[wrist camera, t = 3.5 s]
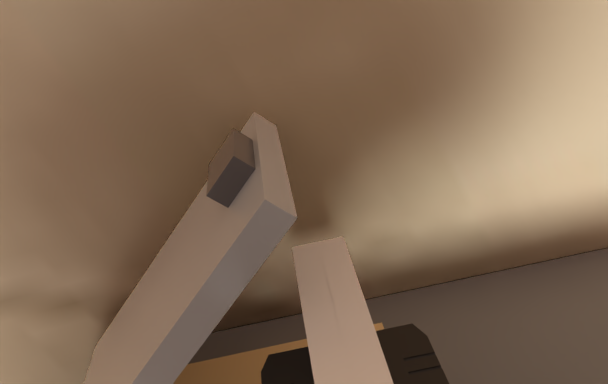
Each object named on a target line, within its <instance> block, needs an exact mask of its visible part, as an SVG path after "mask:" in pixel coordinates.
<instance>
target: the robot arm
mask: <svg viewBox="0 0 608 384" xmlns="http://www.w3.org/2000/svg"><path fill="white" fill-rule="evenodd" d="M291 248H292V254H293V260H294V265H295V271H296V277H297V283H298V289H299V295H300V301H301V307H302V313H303V319H304V325H305V331H306V336H307V342H308V347H303V348H298V349H294V350H289V351H284V352H279V353H275V354H270V355H268V357H267V359H266V362H265V364H264V366H263V368H262V370H261V384H449V382H448V380H447V378H446V375H445V373H444V371H443V369H442V368H441V365H440V362H439V360H438V358H437V356H436V355H435V352H434V349H433V347H432V345H431V343H430V341H429V339H428V336H427V335H426V334H425V333H423V332H422V331H421V330H420V329H418V328H417V327H416V326H415V325H414V324H412V323H411V324H407V325H402V326H397V327H392V328H388V329H383V330H378V331H375V328H374V325H373V322H372V319H371V316H370V313H369V310H368V307H367V304H366V301H365V298H364V295H363V292H362V289H361V286H360V284H359V281H358V278H357V275H356V272H355V269H354V266H353V263H352V260H351V257H350V254H349V251H348V248H347V245H346V242H345V239H344V237H343V236H341V237H336V238H332V239H327V240H322V241H317V242H312V243H307V244H302V245H297V246H293V247H291Z"/></svg>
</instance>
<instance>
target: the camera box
mask: <svg viewBox="0 0 608 384" xmlns="http://www.w3.org/2000/svg"><path fill="white" fill-rule="evenodd" d="M365 301H366V304H367V307H368V310H369V313H370V316H371V319H372V322H373V325H374V328H375V331H378V330H383V329H388V328H392V327H397V326H402V325H407V324H411V323H412V324H414V325H415V326H416V327H417V328H418V329H420V330H421V331H422V332H423V333H425V334H426V335H427V336H428V339H429V341H430V343H431V345H432V347H433V349H434V352H435V355H436V356H437V358H438V360H439V362H440V365H441V368H442V369H443V371H444V373H445V375H446V378H447V380H448V382H449V384H608V248H606V249H601V250H596V251H592V252H587V253H582V254H578V255H573V256H568V257H564V258H559V259H554V260H550V261H545V262H540V263H536V264H531V265H526V266H522V267H517V268H512V269H508V270H503V271H498V272H494V273H489V274H484V275H480V276H475V277H470V278H466V279H461V280H456V281H452V282H447V283H442V284H438V285H433V286H428V287H424V288H419V289H414V290H410V291H405V292H400V293H396V294H391V295H386V296H382V297H377V298H372V299H368V300H365ZM303 347H308V342H307V336H306V331H305V325H304V319H303V313H302V314H298V315H293V316H288V317H284V318H279V319H274V320H270V321H265V322H260V323H256V324H251V325H246V326H242V327H237V328H232V329H228V330H223V331H218V332H214V333H211V334H210V335H209V336H208V338H207V339H206V340H205V342H204V343H203V344H202V346H201V347H200V348H199V350H198V351H197V352H196V354H195V355H194V356H193V358H192V359H191V360H190V362H189V363H188V364H187V366H186V367H185V368H184V370H183V371H182V372H181V374H180V375H179V376H178V378H177V379H176V380H175V382H174V383H173V384H261V370H262V368H263V366H264V364H265V362H266V359H267V357H268V355H270V354H275V353H279V352H284V351H289V350H294V349H298V348H303Z"/></svg>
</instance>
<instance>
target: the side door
mask: <svg viewBox="0 0 608 384" xmlns="http://www.w3.org/2000/svg"><path fill="white" fill-rule="evenodd" d="M296 219H297V213H296V209H295V205H294V200H293V196H292V192H291V187H290V183H289V178H288V174H287V170H286V165H285V161H284V157H283V152H282V148H281V144H280V139H279V135H278V130H277V126H276V125H275V124H273V123H272V122H270V121H268V120H267V119H265V118H264V117H262V116H260V115H259V114H257V113H256V112H253V114H252V115H251V116H250V118H249V119H248V121H247V122H246V124H245V125H244V127H243V128H242V130H241V131H240V132H239V131H237V130H236V129H234V128H233V129H232V130H231V132H230V133H229V135H228V136H227V138H226V139H225V141H224V142H223V144H222V145H221V147H220V148H219V150H218V151H217V153H216V154H215V156H214V157H213V159H212V160H211V162H210V163H209V170H208V180H207V182H206V183H205V185H204V186H203V188H202V189H201V190H200V192H199V193H198V195H197V196H196V198H195V199H194V201H193V202H192V204H191V205H190V207H189V208H188V210H187V211H186V213H185V214H184V216H183V217H182V219H181V220H180V222H179V223H178V225H177V226H176V227H175V229H174V230H173V232H172V233H171V235H170V236H169V238H168V239H167V241H166V242H165V244H164V245H163V247H162V248H161V250H160V251H159V253H158V254H157V256H156V257H155V259H154V260H153V262H152V263H151V264H150V266H149V267H148V269H147V270H146V272H145V273H144V275H143V276H142V278H141V279H140V281H139V282H138V284H137V285H136V287H135V288H134V290H133V291H132V293H131V294H130V296H129V297H128V299H127V300H126V301H125V303H124V304H123V306H122V307H121V309H120V310H119V312H118V313H117V315H116V316H115V318H114V319H113V321H112V322H111V324H110V325H109V327H108V328H107V330H106V331H105V333H104V334H103V336H102V337H101V338H100V340H99V341H98V343H97V344H96V346H95V349H94V352H93V355H92V358H91V362H90V365H89V368H88V371H87V374H86V377H85V380H84V383H83V384H173V383H174V382H175V380H176V379H177V378H178V376H179V375H180V374H181V372H182V371H183V370H184V368H185V367H186V366H187V364H188V363H189V362H190V360H191V359H192V358H193V356H194V355H195V354H196V352H197V351H198V350H199V348H200V347H201V346H202V344H203V343H204V342H205V340H206V339H207V338H208V336H209V335H210V334H211V332H212V331H213V330H214V328H215V327H216V326H217V324H218V323H219V322H220V320H221V319H222V318H223V316H224V315H225V314H226V312H227V311H228V310H229V308H230V307H231V306H232V304H233V303H234V302H235V300H236V299H237V298H238V296H239V295H240V294H241V293H242V291H243V290H244V289H245V287H246V286H247V285H248V283H249V282H250V281H251V279H252V278H253V277H254V275H255V274H256V273H257V271H258V270H259V269H260V267H261V266H262V265H263V263H264V262H265V261H266V259H267V258H268V257H269V255H270V254H271V253H272V251H273V250H274V249H275V247H276V246H277V245H278V243H279V242H280V241H281V239H282V238H283V237H284V235H285V234H286V233H287V231H288V230H289V229H290V227H291V226H292V225H293V223H294V222H295V221H296Z"/></svg>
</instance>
